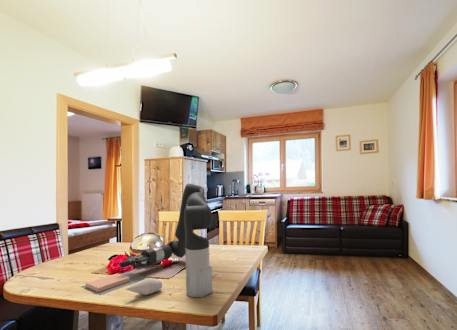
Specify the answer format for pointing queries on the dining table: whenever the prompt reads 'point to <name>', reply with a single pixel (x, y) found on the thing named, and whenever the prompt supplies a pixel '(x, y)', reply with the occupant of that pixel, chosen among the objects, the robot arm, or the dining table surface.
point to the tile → (107, 282)
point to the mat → (133, 279)
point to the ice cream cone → (146, 286)
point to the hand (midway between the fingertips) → (120, 265)
